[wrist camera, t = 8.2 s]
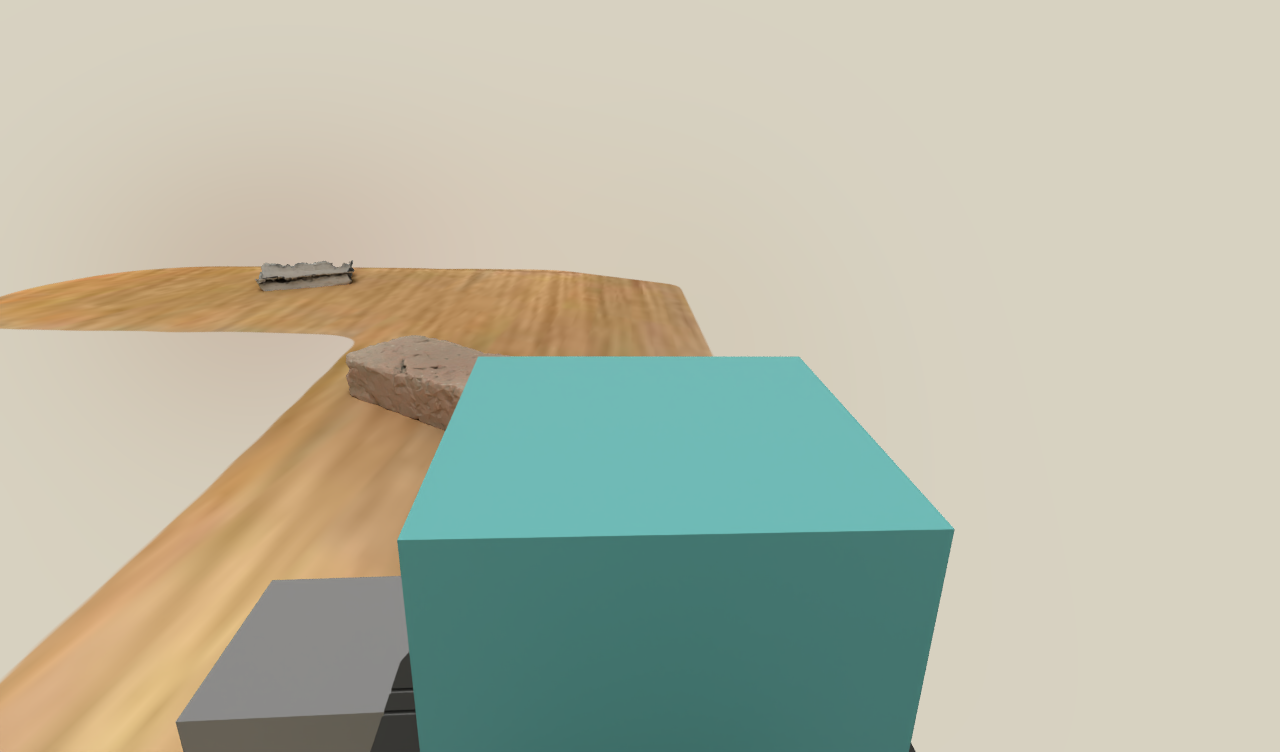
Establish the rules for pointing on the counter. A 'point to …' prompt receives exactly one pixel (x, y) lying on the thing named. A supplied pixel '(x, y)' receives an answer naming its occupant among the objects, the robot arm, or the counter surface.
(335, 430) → the counter surface
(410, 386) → the brick
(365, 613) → the charcoal block
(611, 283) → the counter surface
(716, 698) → the teal block
